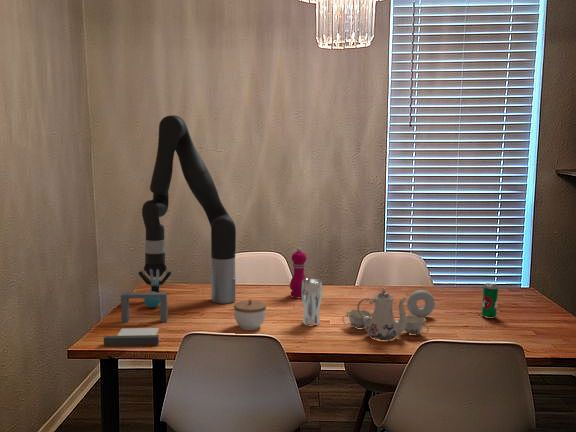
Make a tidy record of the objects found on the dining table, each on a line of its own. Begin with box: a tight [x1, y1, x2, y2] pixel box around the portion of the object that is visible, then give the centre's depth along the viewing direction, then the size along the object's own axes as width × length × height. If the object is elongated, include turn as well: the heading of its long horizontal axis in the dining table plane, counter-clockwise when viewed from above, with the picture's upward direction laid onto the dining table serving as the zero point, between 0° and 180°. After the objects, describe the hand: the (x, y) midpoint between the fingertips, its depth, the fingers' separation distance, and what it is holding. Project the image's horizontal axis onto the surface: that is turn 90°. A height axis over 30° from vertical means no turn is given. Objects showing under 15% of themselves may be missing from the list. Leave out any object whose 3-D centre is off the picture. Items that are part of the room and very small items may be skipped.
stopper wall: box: [103, 334, 160, 347], centre depth 165 cm, size 16×2×2 cm, turn 95°
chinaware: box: [342, 288, 429, 340], centre depth 177 cm, size 28×17×17 cm, turn 77°
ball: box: [143, 291, 160, 309], centre depth 203 cm, size 6×6×6 cm
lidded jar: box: [233, 299, 267, 331], centre depth 182 cm, size 11×11×9 cm
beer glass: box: [301, 278, 323, 325], centre depth 187 cm, size 7×7×15 cm
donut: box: [406, 289, 436, 318], centre depth 195 cm, size 10×4×10 cm, turn 94°
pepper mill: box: [289, 247, 308, 298], centre depth 220 cm, size 7×7×20 cm
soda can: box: [481, 282, 499, 317], centre depth 196 cm, size 5×5×12 cm
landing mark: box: [116, 327, 160, 336], centre depth 174 cm, size 12×12×1 cm
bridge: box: [120, 291, 169, 324], centre depth 187 cm, size 3×15×10 cm, turn 95°
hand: (155, 294), depth 212 cm, fingers closed
